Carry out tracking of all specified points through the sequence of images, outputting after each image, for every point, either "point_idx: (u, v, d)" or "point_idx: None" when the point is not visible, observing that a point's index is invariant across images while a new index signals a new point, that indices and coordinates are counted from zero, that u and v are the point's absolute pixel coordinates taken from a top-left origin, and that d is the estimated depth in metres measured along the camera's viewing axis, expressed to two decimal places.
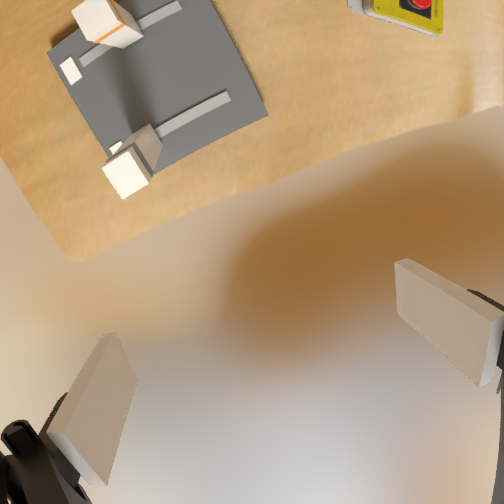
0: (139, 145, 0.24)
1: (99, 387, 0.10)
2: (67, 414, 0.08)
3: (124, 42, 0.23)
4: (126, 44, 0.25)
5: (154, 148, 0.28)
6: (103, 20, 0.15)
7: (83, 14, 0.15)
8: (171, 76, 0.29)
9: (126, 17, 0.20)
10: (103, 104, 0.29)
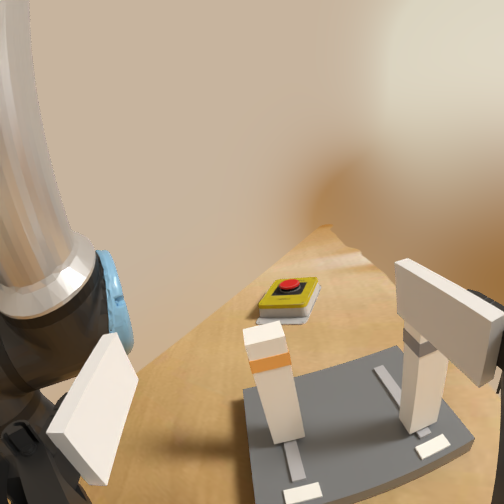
0: None
1: (99, 387, 0.10)
2: (67, 414, 0.08)
3: None
4: None
5: None
6: (273, 327, 0.24)
7: (256, 338, 0.23)
8: (352, 405, 0.29)
9: None
10: (364, 464, 0.22)
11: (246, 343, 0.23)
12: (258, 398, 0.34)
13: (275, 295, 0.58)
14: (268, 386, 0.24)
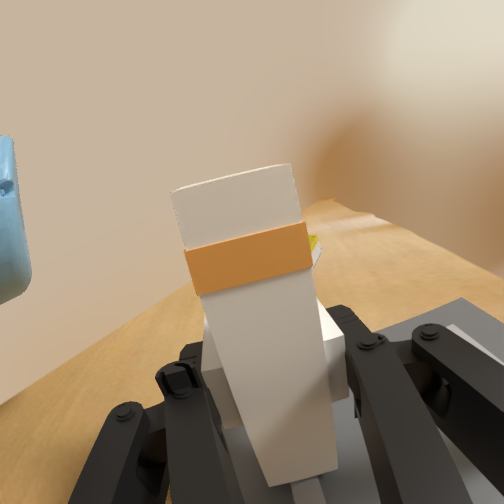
0: None
1: None
2: (217, 353, 0.10)
3: None
4: None
5: None
6: (257, 169, 0.09)
7: (208, 181, 0.08)
8: None
9: None
10: None
11: (176, 190, 0.08)
12: None
13: None
14: (248, 339, 0.09)
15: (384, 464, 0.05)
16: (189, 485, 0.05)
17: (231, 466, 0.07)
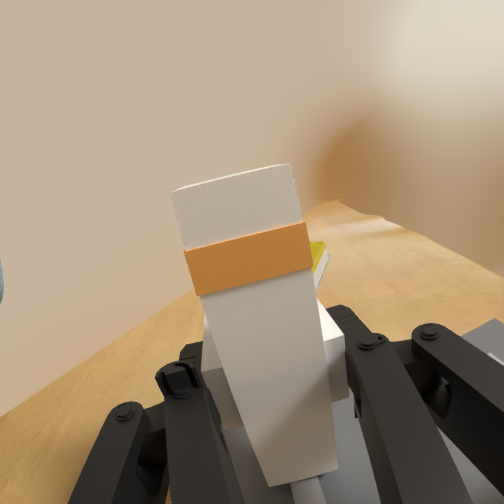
0: None
1: None
2: (217, 352, 0.10)
3: None
4: None
5: None
6: (257, 169, 0.09)
7: (208, 181, 0.08)
8: None
9: None
10: None
11: (176, 190, 0.08)
12: (245, 439, 0.14)
13: None
14: (248, 339, 0.09)
15: (384, 464, 0.05)
16: (189, 485, 0.05)
17: (231, 466, 0.07)
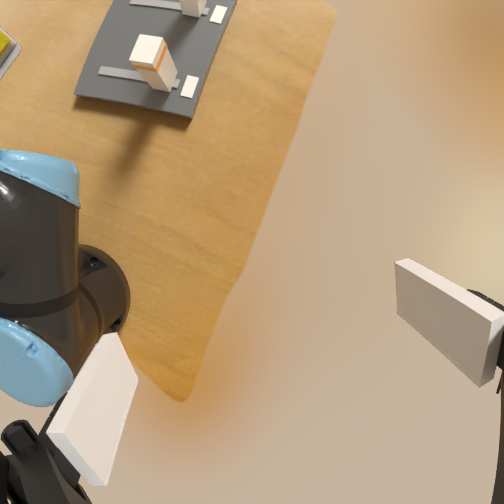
0: None
1: (99, 387, 0.10)
2: (67, 414, 0.08)
3: None
4: None
5: None
6: (145, 40, 0.24)
7: (149, 54, 0.25)
8: (145, 30, 0.34)
9: None
10: (195, 47, 0.36)
11: (150, 62, 0.25)
12: (90, 84, 0.35)
13: None
14: (162, 68, 0.29)
15: None
16: None
17: None
